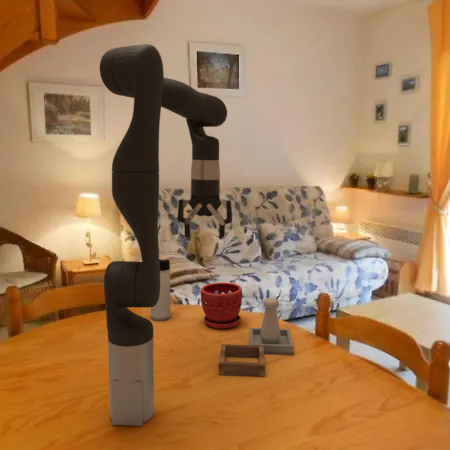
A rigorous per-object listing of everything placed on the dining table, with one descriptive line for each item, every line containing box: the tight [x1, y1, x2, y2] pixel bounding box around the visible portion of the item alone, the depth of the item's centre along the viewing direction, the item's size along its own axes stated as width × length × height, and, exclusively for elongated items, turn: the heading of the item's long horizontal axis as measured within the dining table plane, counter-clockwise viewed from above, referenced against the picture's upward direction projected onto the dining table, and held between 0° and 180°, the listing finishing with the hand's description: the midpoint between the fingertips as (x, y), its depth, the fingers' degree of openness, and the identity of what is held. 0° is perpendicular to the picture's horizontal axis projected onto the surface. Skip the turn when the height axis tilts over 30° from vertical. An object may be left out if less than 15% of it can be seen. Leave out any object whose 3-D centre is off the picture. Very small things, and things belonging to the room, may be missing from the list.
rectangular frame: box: [218, 343, 266, 377], centre depth 123 cm, size 11×11×3 cm
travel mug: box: [150, 258, 171, 322], centre depth 153 cm, size 6×7×20 cm
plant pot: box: [200, 282, 243, 329], centre depth 150 cm, size 13×13×12 cm
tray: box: [248, 327, 294, 356], centre depth 136 cm, size 12×12×2 cm
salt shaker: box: [260, 297, 281, 344], centre depth 134 cm, size 6×6×13 cm
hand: (204, 238), depth 126 cm, fingers open, 8 cm apart
